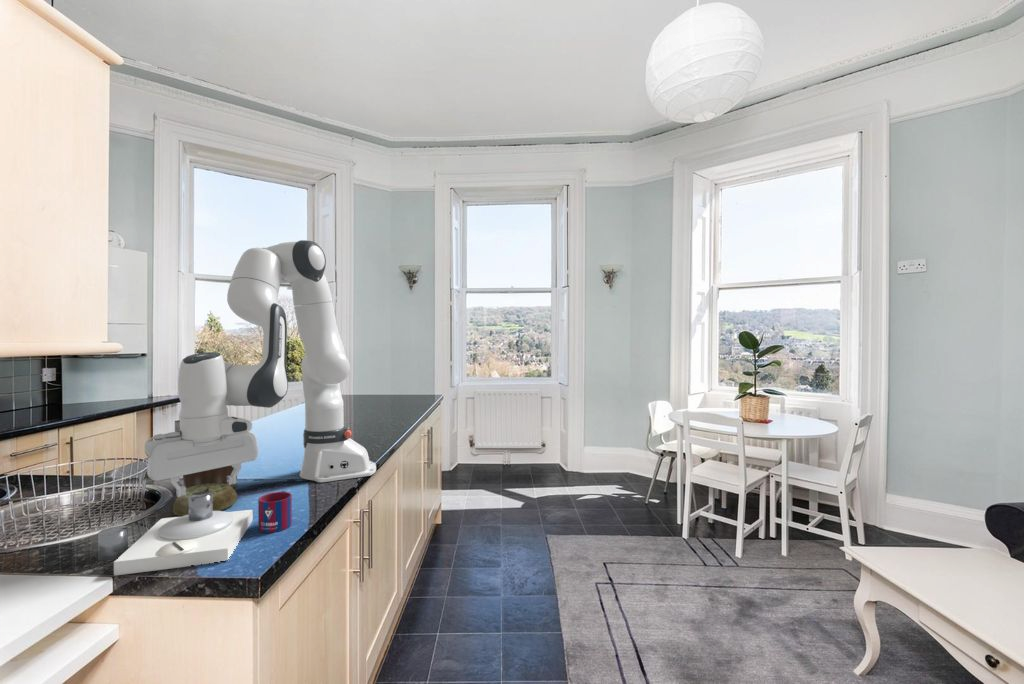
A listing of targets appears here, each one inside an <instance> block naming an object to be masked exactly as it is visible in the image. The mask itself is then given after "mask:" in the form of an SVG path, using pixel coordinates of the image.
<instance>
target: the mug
mask: <svg viewBox="0 0 1024 684" xmlns="http://www.w3.org/2000/svg"><path fill="white" fill-rule="evenodd" d="M292 495H293V494H292V493H291V492H287V491H285V490H281V491H276V492H269V493H266V494H263V495H261V496H260V497H258V501H257V503H258V507H257V508H258V512H257V513H258V516H257V517H258V531H259V532H261V533H265V534H267V533H270V534H271V533H278V532H281V530H282V531H284V530H286V529H289V528H290V527H291V526H292V523H293V518H292V517H293V514H292V513H293V511H292V507H293V506H292V505H293V501H292V500H293V499H292V497H293V496H292Z"/></svg>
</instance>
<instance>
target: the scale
mask: <svg viewBox="0 0 1024 684" xmlns="http://www.w3.org/2000/svg"><path fill="white" fill-rule="evenodd" d="M253 511H254V510H253V509H246V510H245V509H244V510H235V511H225V510H220V511H213V516H212V517H210V518H208V519H205V520H201V521H189V515H185V516H182V517H180V516H174V517H163V518H160V519H159V520H158V521H157V522H156V523H155V524H154V525H153V526H151V527H150V529H148V530H147V531H146V532H144V534H142V536H141V537H140V538H139V539H137V540H136V541H134V543H133V544H131V546H130V547H128V550H126V551H125V552H124V553H123V554H122V555H121V556H120V557H119V558H118V559H115V560H113V576H121V575H123V576H124V575H129V574H138V573H144V572H145V573H146V572H152V571H153V572H154V571H162V570H163V571H164V570H168V569H176V568H185V567H192V566H191V565H194V566H200V565H201V564H202V565H208V564H209V563H210V564H215V563H214V562H218V563H221V562H220V561H225V560H228V559H229V560H230V558H231V557H232V555H233V553H234V552H233V551H235V550H236V548H237V547H238V545H239V544H238V543H240V542H241V541H242V539H241V538H243V537H244V535H245V534H246V532H247V530H248V529H249V527H250V525H251V524H252V522H253V520H254V518H253V515H254V514H253ZM239 541H240V542H239ZM236 546H237V547H236ZM234 549H235V550H234ZM231 554H232V555H231ZM230 556H231V557H230ZM229 557H230V558H229ZM229 560H228V561H229Z"/></svg>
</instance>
